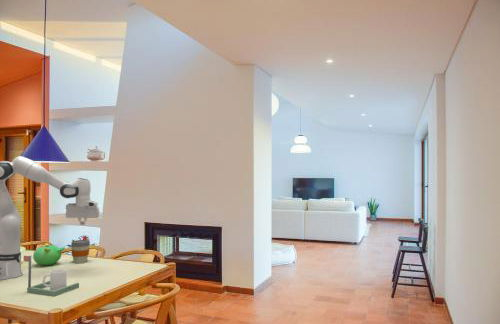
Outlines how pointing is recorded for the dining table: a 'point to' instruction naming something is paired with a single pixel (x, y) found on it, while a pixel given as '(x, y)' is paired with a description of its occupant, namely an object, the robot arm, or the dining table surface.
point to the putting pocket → (38, 288)
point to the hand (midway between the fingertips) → (82, 224)
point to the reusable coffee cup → (80, 251)
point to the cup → (56, 279)
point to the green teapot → (47, 254)
